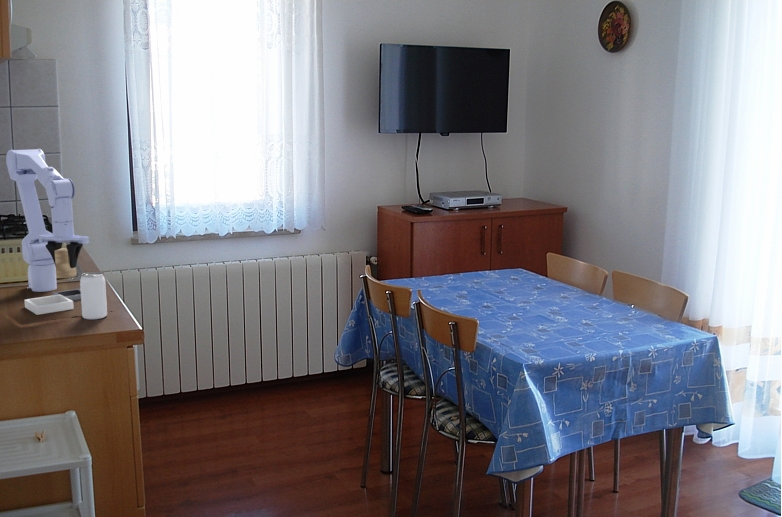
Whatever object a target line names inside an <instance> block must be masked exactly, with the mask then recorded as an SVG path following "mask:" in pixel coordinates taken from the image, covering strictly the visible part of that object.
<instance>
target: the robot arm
mask: <svg viewBox="0 0 782 517" xmlns="http://www.w3.org/2000/svg"><path fill="white" fill-rule="evenodd" d="M5 158H6V160H5V163H6V167H7V172H8V175H9V178H10V179H11V180H13V181H14V182H15V183H16V187H17V190H18V194H19V197H20V202H21V205H22V210H23V214H24V218H25V222H26V226H27V230H28V233H27V235H26V236H24V238H23V239H22V241H21V254H22V258H23V260H24V262H26V264H29V265H28V267H27V279H28V289H31V291H32V292H37V293H38V292H39V293H40V292H51V291H54V290H57V288H58V285H57V284H58V283H57V276H56V263H55V250H58V249H61V248H63V244H65V247H66V248H67V250H68V254H69V263H70V268H74V267H76V268H77V262H78V258H79V255H80V252H81V250H82V248H83V246H84V245H86V244H87V245H88V244H90V237H89V236H87V235H86V236H85V235H78V234H77V235H76V234H75V226H74V212H73V199H74V197H75V195H76V187H75V184H74V181H73V180H72V179H71V178H64V177H63V176H62V175H61V174H60V173H59V171H57V170H56V168H54V167H53V166H48V164H47V163H46V155H45V153H44V151H43V150H42V149H41V148H35V149H9V150H8V151H7V152H6V157H5ZM36 180H38V182H39V183H40V184H41V186H42V187H44V189H45V194H46V196H47V198H48V205H49V206H50V213H51V225H52V226H51V227H52V232H50V231H49V230H47V229H46V224H45V221H44V218H43V217H44V216H43V213H42V212H43V211H42V210H41V205H40V201H39V196H38V193H37V189H36V188H37V187H36V185H35V181H36Z"/></svg>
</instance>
